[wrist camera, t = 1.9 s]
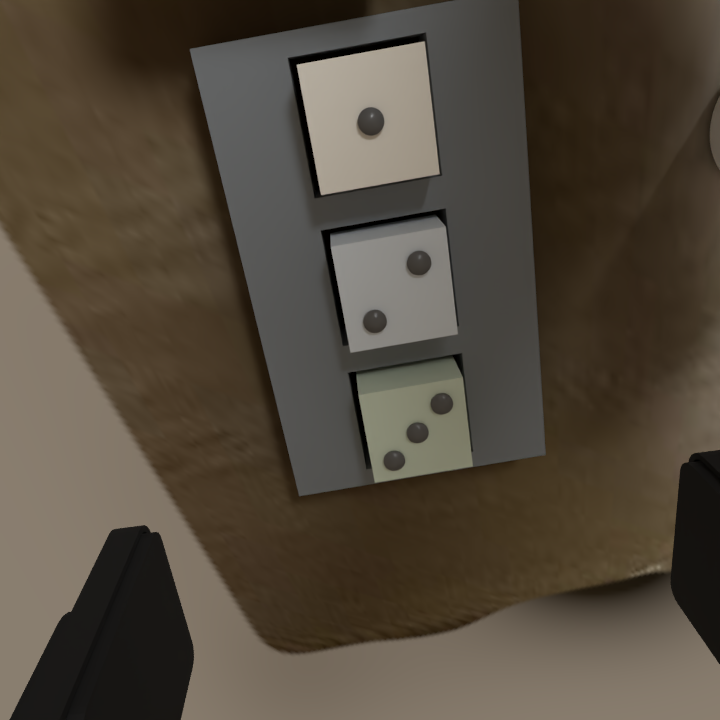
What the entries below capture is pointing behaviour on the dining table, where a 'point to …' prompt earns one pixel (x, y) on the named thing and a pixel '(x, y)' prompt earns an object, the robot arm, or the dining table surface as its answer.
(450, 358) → the tile three
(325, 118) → the tile one
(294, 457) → the board
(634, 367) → the dining table surface
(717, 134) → the bath foam
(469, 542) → the dining table surface
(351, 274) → the tile two
